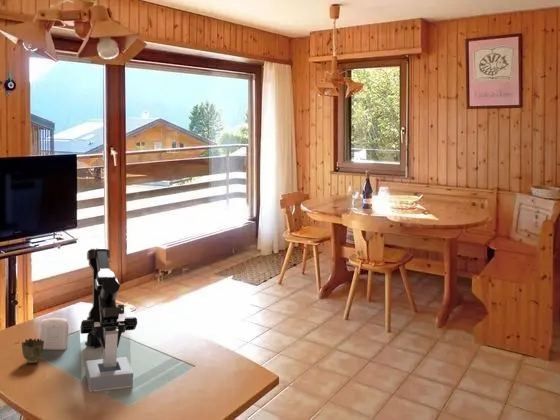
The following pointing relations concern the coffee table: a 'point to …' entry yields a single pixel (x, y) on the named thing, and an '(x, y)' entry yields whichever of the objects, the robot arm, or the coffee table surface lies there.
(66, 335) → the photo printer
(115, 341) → the metal bar
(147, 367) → the coffee table surface
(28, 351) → the brown ornate lampshade
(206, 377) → the coffee table surface
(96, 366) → the square well
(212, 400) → the coffee table surface
